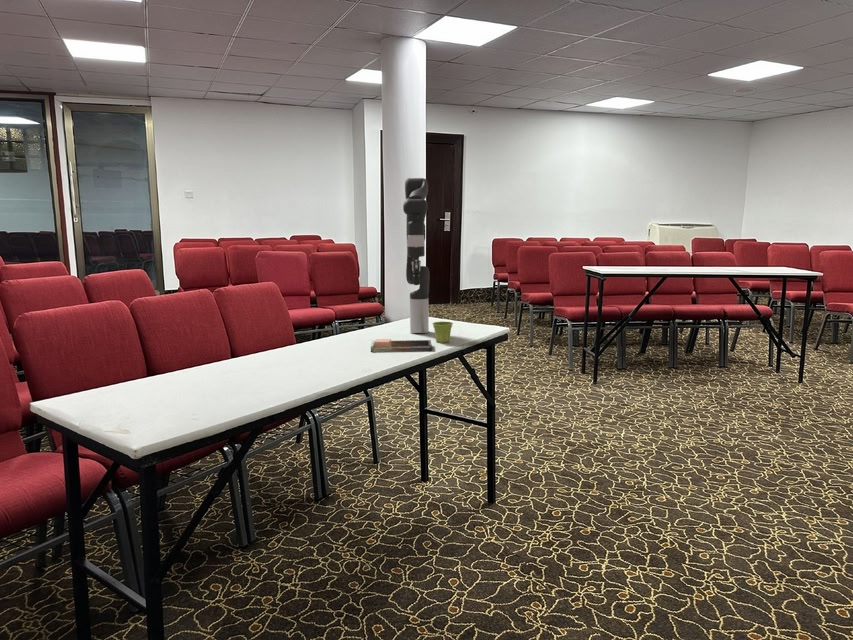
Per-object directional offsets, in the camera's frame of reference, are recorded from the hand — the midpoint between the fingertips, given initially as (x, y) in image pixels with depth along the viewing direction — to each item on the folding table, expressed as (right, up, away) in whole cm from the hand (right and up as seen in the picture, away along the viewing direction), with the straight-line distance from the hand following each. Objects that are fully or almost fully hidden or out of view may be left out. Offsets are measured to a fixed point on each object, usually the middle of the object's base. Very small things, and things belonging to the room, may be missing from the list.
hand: (416, 284), depth 258 cm
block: (-15, -28, -4) cm, 32 cm away
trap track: (-6, -28, -4) cm, 29 cm away
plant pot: (+12, -26, +11) cm, 30 cm away
